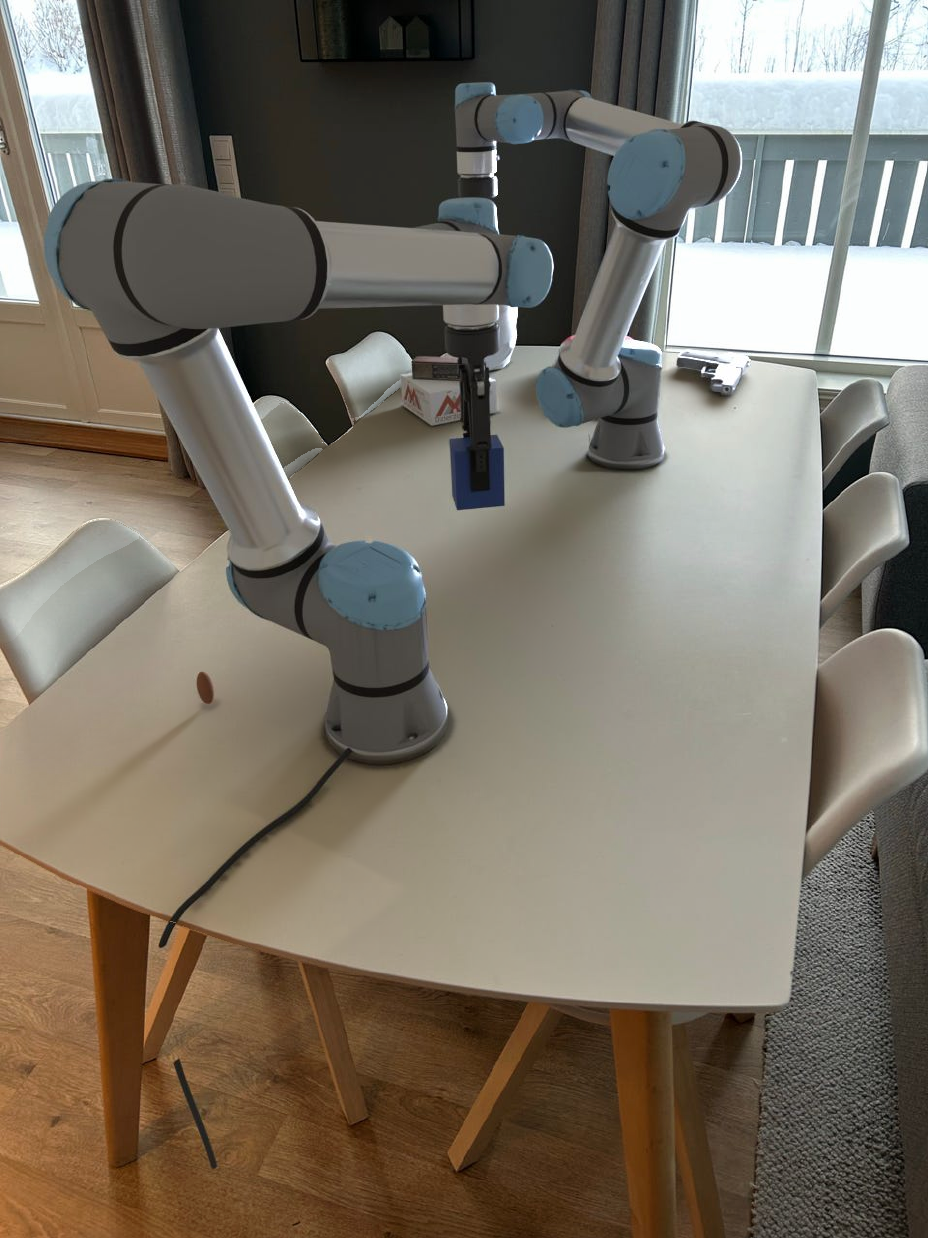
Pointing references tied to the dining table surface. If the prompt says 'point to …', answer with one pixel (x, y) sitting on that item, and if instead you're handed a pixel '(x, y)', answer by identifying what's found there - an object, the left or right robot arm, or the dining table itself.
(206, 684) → the brown ellipsoid
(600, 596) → the dining table surface
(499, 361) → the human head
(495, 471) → the block
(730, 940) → the dining table surface
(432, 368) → the white cardboard box
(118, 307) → the left robot arm
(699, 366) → the pistol
